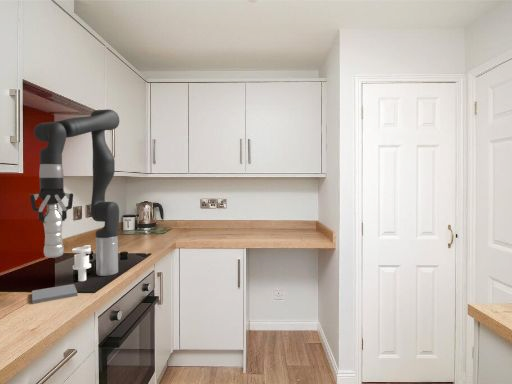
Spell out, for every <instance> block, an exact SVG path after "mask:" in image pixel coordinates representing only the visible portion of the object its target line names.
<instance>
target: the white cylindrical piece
mask: <svg viewBox="0 0 512 384" xmlns="http://www.w3.org/2000/svg"><path fill="white" fill-rule="evenodd" d="M91 247H92V245H91V244H88V245H87V244H85V245H83V246H78V247H74V248H72V250H71V252H72V253H74V255H73V256H74V264H73V265H72V270H76V271H77V274H78V275H77V276H78V277H77V279H78V280H77V281H78V282H85V281H87V269H90V268H92V263H90V254H92V250H91V249H92V248H91ZM87 254H88V255H87Z"/></svg>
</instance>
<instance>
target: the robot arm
mask: <svg viewBox="0 0 512 384" xmlns="http://www.w3.org/2000/svg"><path fill="white" fill-rule="evenodd" d="M119 125H120V117H119V114H118V112H116V110H113V109H97V110H93V111H92V112H91V113H90V116H88V115H87V116H79V117H78V116H77V117H71V118H66V119H62V120H57V121H47V122H41V123H38V124H37V125H35V127H34V130H33V134H34V137H35V138H36V139H37V141H40V142H42V143H47V146H46V147H44V148H41V149H40V150H39V170H38V171H39V175H38V176H39V193H35V194H34V193H33V194H30V195H29V197H30V203H31V208H32V211H33V212H38V221H39V222H41V223H43V216H44V212H43V210H44V209H45V207H46V206H47V204H58V206H60V207H61V210H62V211H61V215H62V218H63V220H62V222H65V221H66V220H67V218H68V216H67V215H68V214H67V212H68V210H71V209H72V208H73V199H74V194H73V193H72V192H71V193H69V192H68V193H67V192H65V187H64V168H63V151H64V147H65V144H66V141H67V138H72V137H73V138H74V137H77V136H81V135H85V134H87V133H90V134H91V140H92V194H91V201H90V202H91V205H90V215H91V216H90V217H91V218H92V220H93V221H94V222H104V226H103V227H102V228H100V229H98V230H96V231H95V258H96V259H95V260H96V261H95V262H96V266H95V267H96V275H97V276H101V277H102V276H103V277H104V276H105V277H106V276H112V275H116V274H117V273H119V248H118V246H119V245H118V244H119V242H118V240H119V239H118V232H119V230H120V229H119V227H120V207H119V205H118V203H117V202H115V201H105V200H106V191H107V188H108V186H109V185H110V183H111V181H112V180H113V178H114V175H115V171H116V170H115V169H116V167H115V164H116V163H115V158H114V154H113V153H112V151H111V149H110V148H109V146H108V144H107V142H106V132H105V131H111V130H115V129H117V128H118V127H119ZM38 197H39V198H40V199H41V200H42V201H41V204H40V205H39V207H37V204H36V200H38ZM65 197H66V199H68V202H67V206H65V204H64V202H63V199H64V198H65Z"/></svg>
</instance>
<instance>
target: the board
mask: <svg viewBox="0 0 512 384" xmlns="http://www.w3.org/2000/svg"><path fill="white" fill-rule="evenodd" d="M77 296H78V291H77V288H76V286H75V284H74V283H72V284H66V285H65V284H64V285H60V286H53V287H47V288H41V289H35V290H32V291H31V301H32V304H38V303H43V302H45V303H46V302H49V301H54V300H55V301H56V300H60V299H66V298H70V297H77Z"/></svg>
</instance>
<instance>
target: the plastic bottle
mask: <svg viewBox="0 0 512 384" xmlns="http://www.w3.org/2000/svg"><path fill="white" fill-rule="evenodd" d="M46 210H47V211H46V212H45V213H44V214H43V222H42V223H43V229H44V236H45V237H44V247H43V255H44V256H45V257H46V258H52V259H55V258H58V257H62V256H63V254H64V252H65V246H64V244H63V237H62V236H63V235H62V230H63V228H62V227H63V221H62V220H63V218H62V213H61V212H60V211H59V210H60V209H59V203H57V204H53V203H52V204H46Z"/></svg>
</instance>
